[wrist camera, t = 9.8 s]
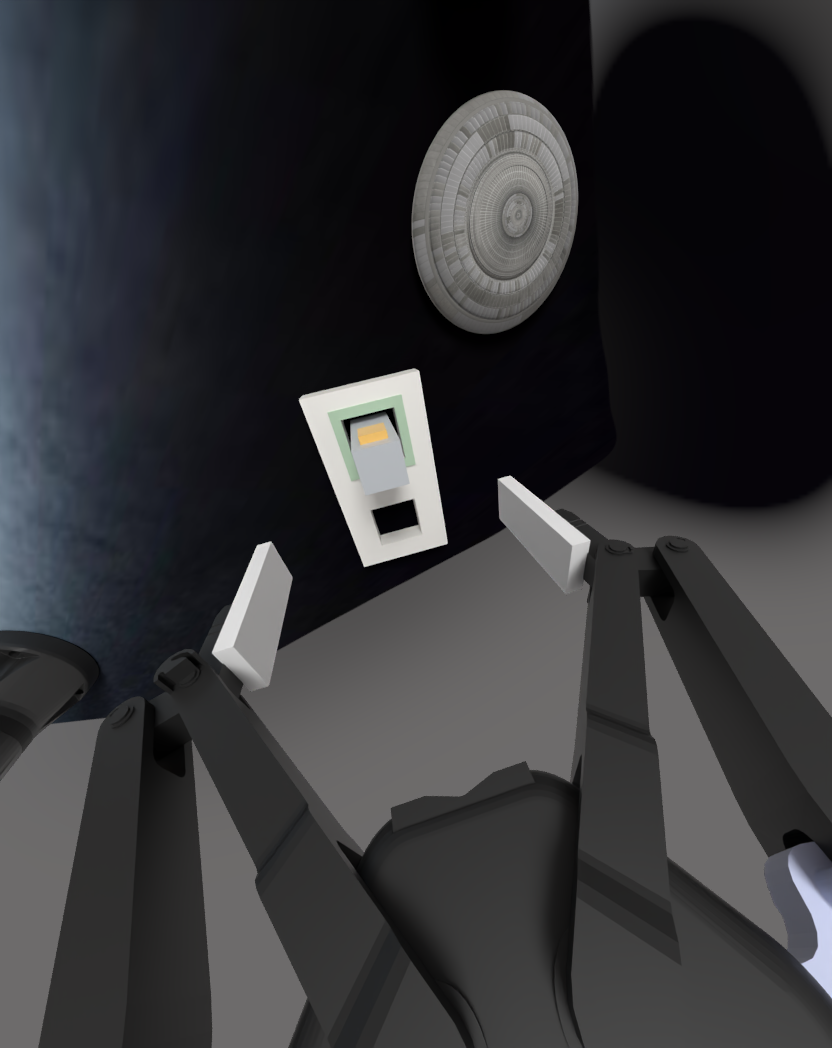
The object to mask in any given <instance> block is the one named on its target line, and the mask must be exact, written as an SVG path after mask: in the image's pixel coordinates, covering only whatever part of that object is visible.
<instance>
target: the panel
mask: <svg viewBox="0 0 832 1048" xmlns="http://www.w3.org/2000/svg"><path fill="white" fill-rule="evenodd" d="M299 402H300V404H301V407H302V409H303V412H304V414H305V417H306V419H307V422H308V425H309V427H310V430H311V432H312V435H313V437H314V440H315V442H316V445H317V448H318V450H319V453H320V455H321V458H322V460H323V463H324V465H325V468H326V471H327V473H328V476H329V478H330V481H331V483H332V486H333V488H334V491H335V493H336V496H337V499H338V501H339V504H340V506H341V509H342V511H343V514H344V516H345V519H346V522H347V524H348V527H349V529H350V532H351V534H352V537H353V539H354V542H355V545H356V547H357V550H358V552H359V555H360V557H361V560H362V562H363V565H364V567H366V566H370V565H373V564H377V563H381V562H384V561H388V560H391V559H395V558H399V557H402V556H406V555H409V554H413V553H416V552H420V551H424V550H427V549H431V548H434V547H438V546H442V545H445V544H448V542H447V536H446V530H445V524H444V518H443V512H442V506H441V500H440V494H439V488H438V482H437V476H436V470H435V464H434V458H433V452H432V446H431V440H430V434H429V428H428V422H427V416H426V410H425V404H424V398H423V392H422V386H421V380H420V374H419V370H416V369H410V370H406V371H402V372H398V373H394V374H390V375H385V376H381V377H377V378H373V379H369V380H365V381H361V382H357V383H352V384H348V385H344V386H340V387H336V388H332V389H328V390H323V391H319V392H315V393H311V394H307V395H303V396H301V398H300V399H299ZM389 408H392V409H393V414H394V418H395V423H396V427H397V431H398V436H399V439H400V443H401V447H402V452H403V456H404V460H405V465H406V469H407V474H408V478H409V483H410V484H408V485H404V486H400V487H396V488H393V489H389V490H385V491H381V492H377V493H374V494H370V495H366V496H365V493H364V490H363V487H362V483H361V480H360V477H359V474H358V471H357V468H356V465H355V462H354V459H353V456H352V453H351V444H350V441H349V437H348V434H347V431H346V428H345V425H344V422H343V420H344V419H348V418H352V417H356V416H360V415H364V414H368V413H373V412H377V411H381V410H385V409H389ZM411 499H413V502H414V506H415V511H416V515H417V519H418V524H419V525H416V526H412V527H409V528H405V529H401V530H398V531H394V532H390V533H387V534H383V535H380V533H379V530H378V527H377V524H376V521H375V518H374V515H373V511H372V510H374V509H378V508H381V507H385V506H389V505H393V504H396V503H400V502H404V501H407V500H411Z"/></svg>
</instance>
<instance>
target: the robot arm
mask: <svg viewBox="0 0 832 1048" xmlns="http://www.w3.org/2000/svg"><path fill="white" fill-rule="evenodd" d="M498 494H499V519H500V520H501V521H502V522H503V523H504V524H505V525H506V527H507V528H508V529H509V530H510V531H511V532H512V533H513V534H514V536H515V537H516V538H517V539H518V540H519V541H520V542H521V544H522V545H523V546H524V547H525V548H526V549H527V550H528V552H529V553H530V554H531V555H532V556H533V557H534V558H535V559H536V561H537V562H538V563H539V564H540V565H541V566H542V568H543V569H544V570H545V571H546V572H547V573H548V574H549V576H550V577H551V578H552V579H553V580H554V581H555V582H556V584H557V585H558V586H559V587H560V588H561V589H562V590H563V591H564V593H565V594H568V593H571V592H574V591H577V590H581V589H582V586H583V580H585V581H586V582H587V583H588V584H589V585H590V589H589V594H588V599H587V603H588V608H587V609H588V610H587V620H586V630H585V641H584V652H583V663H582V675H581V685H580V697H579V707H578V718H577V729H576V740H575V750H574V756H573V763H572V771H571V780H570V782H568V781H566V780H565V779H562V778H560V777H558V776H556V775H554V774H550V773H547V772H543V771H538V770H529V768H528V765H527V763H526V761H525V762H522V763H519V764H516V765H514V766H511V767H507V768H505V769H502V770H499V771H496V772H493V773H492V774H491V775H490V776H488V777H487V778H486V779H485V780H483V781H482V782H481V783H479V784H478V785H477V786H476V787H474V788H473V789H472V790H470V791H469V792H468V793H467V794H466V795H463V796H460V797H449V796H445V797H444V796H424V797H421V798H418V799H415V800H412V801H410V802H407V803H404V804H401V805H398V806H395V807H392V808H391V815H392V819H391V820H389V821H388V822H387V823H386V824H385V825H384V826H383V827H382V828H381V829H380V830H379V831H378V833H377V834H376V835H375V836H374V838H373V839H372V841H371V842H370V844H369V845H368V847H367V849H366V850H365V852H363V851H362V850H361V848H360V847H359V846H358V845H357V844H356V843H355V841H354V840H353V839H352V838H351V837H350V836H349V835H348V834H347V833H346V832H345V831H344V829H343V828H342V827H341V825H340V824H339V823H338V822H337V820H336V819H335V818H334V816H333V815H332V814H331V812H330V811H329V810H328V808H327V807H326V806H325V804H324V803H323V802H322V800H321V799H320V798H319V796H318V795H317V794H316V793H315V791H314V790H313V788H312V787H311V786H310V785H309V783H308V782H307V780H306V779H305V778H304V777H303V775H302V774H301V773H300V771H299V770H298V769H297V767H296V766H295V765H294V763H293V762H292V761H291V759H290V758H289V757H288V755H287V754H286V753H285V751H284V750H283V749H282V748H281V746H280V745H279V743H278V742H277V741H276V740H275V738H274V737H273V736H272V734H271V733H270V732H269V730H268V729H267V728H266V726H265V725H264V724H263V722H262V721H261V720H260V719H259V717H258V716H257V714H256V713H255V712H254V711H253V709H252V708H251V706H250V705H249V704H248V703H247V701H246V700H245V699H244V698H243V696H241V695H240V692H241V689H242V686H243V685H244V686H245V687H246V688H247V689H248V690H249V691H250V692H251V691H254V690H257V689H260V688H264V687H267V686H269V683H270V679H271V674H272V670H273V665H274V661H275V656H276V651H277V647H278V642H279V638H280V633H281V628H282V624H283V619H284V615H285V610H286V605H287V601H288V596H289V592H290V587H291V582H292V578H293V577H292V576H291V574H290V572H289V571H288V569H287V567H286V566H285V564H284V562H283V560H282V559H281V557H280V555H279V554H278V552H277V550H276V549H275V547H274V545H273V544H272V542H268V543H264V544H261V545H257V547H256V550H255V552H254V554H253V557H252V559H251V561H250V564H249V566H248V568H247V571H246V573H245V576H244V578H243V580H242V583H241V585H240V587H239V590H238V592H237V594H236V597H235V599H234V601H233V604H231V605H228V606H225V607H224V608H223V609H222V610H221V611H220V613H219V614H218V615H217V616H216V618H215V620H214V622H213V624H212V628H211V629H210V631H209V633H208V636H207V637H206V640H205V642H204V644H203V646H202V648H201V650H200V653H199V655H198V654H197V653H196V652H195V651H194V650H192V649H185V650H183V651H180V652H177V653H176V654H174V655H173V656H171V657H170V658H168V659H167V660H166V661H165V662H164V663H163V664H162V665H161V666H160V667H159V669H158V670H157V671H156V674H155V676H154V683H155V684H156V685H158V686H159V687H160V688H162V689H163V690H164V691H166V692H165V693H163V694H161V695H159V696H157V697H156V698H154V699H152V700H150V701H147V700H146V699H144V698H142V697H133V698H131V699H129V700H127V701H125V702H123V703H122V704H120V705H119V706H118V707H116V708H115V709H114V710H113V711H112V712H111V713H110V714H109V715H108V716H107V717H106V719H105V720H104V721H103V723H102V724H101V726H100V729H99V731H98V736H97V741H96V747H95V751H94V757H93V762H92V767H91V773H90V778H89V783H88V789H87V794H86V799H85V805H84V810H83V815H82V821H81V825H80V831H79V836H78V842H77V847H76V852H75V857H74V862H73V868H72V873H71V879H70V884H69V889H68V894H67V900H66V905H65V910H64V915H63V921H62V926H61V931H60V937H59V942H58V948H57V952H56V958H55V963H54V968H53V973H52V979H51V985H50V990H49V995H48V1000H47V1005H46V1011H45V1016H44V1021H43V1026H42V1032H41V1037H40V1043H39V1048H211V1045H212V1044H211V1043H212V1013H211V990H210V976H209V963H208V950H207V937H206V924H205V911H204V897H203V885H202V871H201V858H200V845H199V832H198V819H197V806H196V793H195V780H194V767H193V754H192V742H191V741H192V740H193V742H194V744H195V746H196V748H197V750H198V752H199V754H200V756H201V758H202V760H203V762H204V764H205V766H206V768H207V770H208V771H209V774H210V776H211V778H212V780H213V782H214V784H215V786H216V788H217V789H218V792H219V794H220V796H221V798H222V800H223V801H224V804H225V806H226V808H227V810H228V812H229V814H230V816H231V818H232V820H233V822H234V824H235V825H236V828H237V830H238V832H239V834H240V836H241V837H242V840H243V842H244V843H245V846H246V848H247V850H248V852H249V854H250V856H251V858H252V860H253V862H254V864H255V866H256V868H257V873H258V874H257V876H256V879H255V883H256V889H257V891H258V894H259V896H260V899H261V901H262V903H263V905H264V907H265V909H266V911H267V913H268V915H269V918H270V920H271V922H272V924H273V926H274V928H275V930H276V932H277V934H278V936H279V939H280V941H281V943H282V945H283V947H284V949H285V951H286V953H287V955H288V958H289V960H290V961H291V964H292V966H293V968H294V970H295V972H296V974H297V976H298V978H299V981H300V983H301V985H302V987H303V989H304V991H305V993H306V995H307V997H308V998H307V1000H306V1003H305V1006H304V1008H303V1011H302V1013H301V1016H300V1019H299V1021H298V1024H297V1026H296V1029H295V1032H294V1034H293V1037H292V1039H291V1043H290V1045H289V1047H288V1048H832V717H831V716H830V715H829V713H828V712H827V711H826V710H825V708H824V707H823V706H822V704H821V703H820V702H819V701H818V699H817V698H816V697H815V695H814V694H813V693H812V692H811V690H810V689H809V688H808V686H807V685H806V684H805V683H804V681H803V680H802V679H801V677H800V676H799V675H798V673H797V672H796V671H795V670H794V668H793V667H792V666H791V664H790V663H789V662H788V661H787V659H786V658H785V657H784V656H783V654H782V653H781V652H780V650H779V649H778V648H777V646H776V645H775V644H774V643H773V641H772V640H771V639H770V637H769V636H768V635H767V634H766V632H765V631H764V630H763V628H762V627H761V626H760V624H759V623H758V622H757V621H756V619H755V618H754V617H753V615H752V614H751V613H750V612H749V610H748V609H747V608H746V607H745V605H744V604H743V603H742V601H741V600H740V599H739V598H738V596H737V595H736V594H735V592H734V591H733V590H732V588H731V587H730V586H729V585H728V583H727V582H726V581H725V579H724V578H723V577H722V576H721V574H720V573H719V572H718V570H717V569H716V568H715V567H714V565H713V564H712V563H711V561H710V560H709V559H708V557H707V556H706V555H705V554H704V552H703V551H702V550H701V548H700V547H699V546H698V545H697V544H696V543H694V542H692V541H690V540H688V539H686V538H682V537H678V536H664V537H661V538H659V539H658V540H657V542H656V544H655V547H642V548H634V547H633V546H632V545H631V544H629V543H626V542H624V541H620V540H608V539H606V538H605V537H604V536H603V535H601V534H600V533H599V532H597V531H596V530H595V529H593V528H592V527H591V526H589V525H588V524H586V523H585V522H584V521H583V520H580V518H579V517H577V516H576V515H575V514H573V513H572V512H569V511H567V510H564V509H560V510H556V511H553V510H552V509H551V508H550V507H549V506H547V505H546V504H545V503H544V502H542V501H541V500H540V499H539V498H537V497H536V496H535V495H534V494H532V493H531V492H530V491H529V490H528V489H526V488H525V487H524V486H523V485H521V484H520V483H519V482H518V481H516V480H515V479H514V478H513V477H511V476H507V477H504V478H500V479H498ZM640 597H644V599H645V601H646V603H647V605H648V607H649V610H650V612H651V614H652V616H653V618H654V620H655V623H656V625H657V627H658V629H659V631H660V634H661V636H662V638H663V640H664V642H665V645H666V647H667V649H668V651H669V653H670V656H671V658H672V660H673V662H674V664H675V667H676V669H677V671H678V673H679V675H680V678H681V680H682V682H683V684H684V686H685V689H686V691H687V693H688V695H689V697H690V700H691V702H692V704H693V706H694V708H695V710H696V713H697V715H698V717H699V719H700V722H701V724H702V726H703V728H704V730H705V732H706V735H707V737H708V739H709V741H710V743H711V746H712V748H713V750H714V752H715V754H716V757H717V759H718V761H719V763H720V765H721V768H722V770H723V772H724V774H725V776H726V779H727V781H728V783H729V785H730V787H731V790H732V792H733V794H734V796H735V798H736V800H737V802H738V804H739V806H740V808H741V810H742V812H743V814H744V816H745V818H746V820H747V822H748V824H749V826H750V827H751V829H752V831H753V832H754V834H755V836H756V837H757V839H758V841H759V842H760V844H761V845H762V847H763V849H764V850H765V852H766V854H767V855H768V857H769V858H768V859H767V861H766V863H765V868H764V875H765V879H766V883H767V886H768V889H769V891H770V894H771V897H772V900H773V903H774V905H775V906H776V908H777V909H778V911H779V912H780V913H781V915H782V917H783V919H784V923H785V926H786V930H787V933H788V949H787V950H786V949H785V948H784V947H782V945H780V944H779V943H778V942H777V941H775V939H773V938H772V937H771V936H770V935H768V934H767V933H766V932H764V931H763V930H762V929H761V928H759V927H758V926H757V925H755V924H754V923H753V922H751V921H750V920H749V919H747V918H746V917H745V916H743V915H742V914H741V913H740V912H738V911H737V910H736V909H735V908H733V907H732V906H730V905H729V904H728V903H727V902H725V901H724V900H723V899H722V898H720V897H719V896H717V895H716V894H715V893H714V892H712V891H711V890H710V889H709V888H707V887H706V886H705V885H703V884H702V883H701V882H699V881H698V880H697V879H695V878H694V877H693V876H691V875H690V874H689V873H688V872H686V871H685V870H684V869H683V868H681V867H680V866H679V865H677V864H676V863H675V862H673V861H672V860H671V859H669V858H668V857H667V853H666V842H665V831H664V830H665V829H664V817H663V806H662V794H661V782H660V771H659V759H658V750H657V745H656V741H655V739H654V738H653V737H652V736H651V734H650V731H649V719H648V705H647V690H646V676H645V661H644V647H643V633H642V618H641V604H640ZM98 676H99V668H98V665H97V663H96V662H95V660H94V659H93V658H92V657H91V656H90V655H89V654H87V653H86V652H85V651H83V650H82V649H80V648H78V647H77V646H75V645H73V644H70V643H68V642H66V641H63V640H60V639H57V638H54V637H50V636H46V635H42V634H37V633H30V632H22V631H0V781H1V780H2V778H3V777H4V776H5V775H6V773H7V772H8V771H9V769H10V768H11V767H12V766H13V764H14V763H15V762H16V761H17V759H18V758H19V756H20V755H21V754H22V753H23V751H24V750H25V749H26V747H27V746H28V745H29V744H30V743H31V741H32V740H33V739H34V738H35V737H36V736H37V735H38V734H39V733H40V732H41V731H42V730H44V729H45V728H46V727H47V726H49V725H50V724H51V723H52V722H54V721H55V720H56V719H57V718H58V717H60V716H61V715H62V714H63V713H65V712H66V711H67V710H68V709H70V708H71V707H72V706H73V705H74V704H76V703H77V702H78V701H79V700H81V699H82V698H83V697H84V696H85V695H86V694H87V692H88V691H89V690H90V688H91V687H92V686H93V684H94V683H95V682H96V680H97V678H98Z"/></svg>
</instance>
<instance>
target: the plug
mask: <svg viewBox="0 0 832 1048" xmlns="http://www.w3.org/2000/svg"><path fill="white" fill-rule="evenodd" d="M350 425H351V453H352V456H353V459H354V462H355V465H356V468H357V471H358V474H359V477H360V480H361V483H362V487H363V490H364V493H365V496H366V495H370V494H374V493H377V492H381V491H385V490H389V489H393V488H396V487H400V486H404V485H408V484H410V483H409V478H408V474H407V469H406V465H405V460H404V456H403V452H402V447H401V443H400V439H399V437H398V435H397V433H396V431H395V429H394V427H393V425H392V424H391V422H390V420H389V418H388V416H387V414H386V412H382V413H378V414H374V415H370V416H366V417H362V418H358V419H354V420H350Z"/></svg>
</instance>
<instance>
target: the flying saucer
mask: <svg viewBox="0 0 832 1048" xmlns="http://www.w3.org/2000/svg"><path fill="white" fill-rule="evenodd" d="M577 211H578V185H577V175H576V169H575V164H574V160H573V156H572V153H571V149H570V146H569V144H568V141H567V139H566V137H565V135H564V133H563V131H562V129H561V127H560V125H559V124H558V122H557V121H556V120H555V118H554V117H553V116H552V114H551V113H550V112H549V111H548V110H547V109H546V108H545V107H544V106H543V105H541V104H540V103H539V102H537V101H536V100H534V99H533V98H531V97H529V96H527V95H524V94H522V93H518V92H515V91H508V90H500V91H492V92H488V93H485V94H482V95H479V96H477V97H475V98H473V99H471V100H470V101H468V102H467V103H465V104H464V105H462V106H461V107H460V108H459V109H458V110H456V111H455V112H454V113H453V114H452V115H451V116H450V118H449V119H448V120H447V121H446V122H445V123H444V125H443V126H442V127H441V129H440V130H439V132H438V133H437V135H436V136H435V138H434V140H433V142H432V143H431V145H430V147H429V149H428V151H427V154H426V156H425V158H424V161H423V163H422V166H421V169H420V172H419V176H418V180H417V184H416V188H415V193H414V200H413V208H412V242H413V250H414V256H415V261H416V265H417V269H418V272H419V275H420V278H421V281H422V283H423V286H424V288H425V290H426V292H427V294H428V296H429V297H430V299H431V301H432V302H433V304H434V305H435V306H436V308H437V309H438V310H439V311H440V312H441V314H442V315H443V316H444V317H446V318H447V319H448V320H449V321H450V322H452V323H453V324H455V325H456V326H458V327H460V328H462V329H464V330H467V331H469V332H473V333H479V334H493V333H498V332H502V331H505V330H508V329H510V328H513V327H515V326H516V325H518V324H520V323H521V322H523V321H524V320H526V319H527V318H528V317H529V316H531V315H532V314H533V313H534V312H535V311H536V310H537V309H538V308H539V307H540V306H541V304H542V303H543V302H544V301H545V300H546V298H547V297H548V296H549V294H550V293H551V291H552V289H553V288H554V286H555V284H556V283H557V281H558V279H559V277H560V275H561V273H562V271H563V268H564V266H565V264H566V261H567V258H568V256H569V253H570V249H571V246H572V242H573V238H574V233H575V228H576V221H577Z"/></svg>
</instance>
